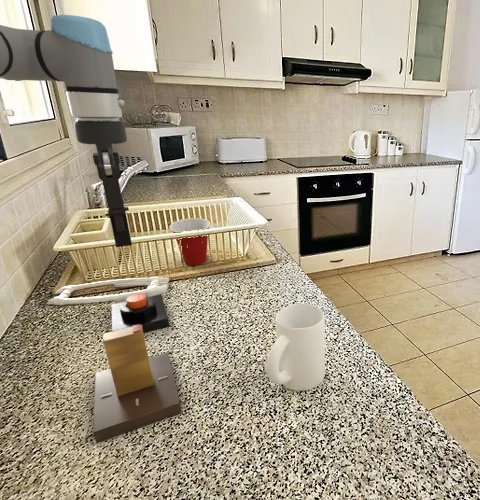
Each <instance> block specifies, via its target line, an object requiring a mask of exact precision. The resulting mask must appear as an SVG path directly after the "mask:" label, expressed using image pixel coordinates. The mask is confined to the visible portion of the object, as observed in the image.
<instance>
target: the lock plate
mask: <svg viewBox="0 0 480 500" xmlns="http://www.w3.org/2000/svg"><path fill="white" fill-rule="evenodd" d="M149 362H150V367H151V372H152V376H153V382H154V385H153V386H150V387H146V388H143V389H140V390H137V391H134V392H131V393H127V394H124V395H121V396H117V393H116V389H115V385H114V381H113V377H112V373H111V370H110V368H107V369H103V370H100V371H97V372H95V375H94V376H95V377H94V397H93V398H94V399H93V420H92V421H93V423H92V434H93V437H94V440H95V443H96V444H100V443H101V442H104V441H107V440H109V439H113V438H116V437H119V436H121V435H123V434H126V433H129V432H132V431H135V430H137V429H141V428H144V427H145V426H150V425H151V424H154V423H157V422H161V421H163V420H165V419H169V418H171V417H174V416H177V415H179V414H182V413H183V409H182V405H181V399H180V396H179V392H178V387H177V383H176V379H175V375H174V371H173V367H172V363H171V359H170V354H169V352H164V353H160V354H158V355H154V356H150V357H149Z"/></svg>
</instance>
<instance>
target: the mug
mask: <svg viewBox="0 0 480 500" xmlns="http://www.w3.org/2000/svg"><path fill="white" fill-rule="evenodd" d="M274 320H275V336H276V340H275V341H274V343H273V344H272V345H271V348H270V349H269V352H268V355H267V358H266V361H265V372H266V376H267V378H268V380H269V381H270V382H271V383H272V384H275V385H283V387H285V388H286V389H288V390H290V391H296V392H303V391H308V390H312V389H314V388H316V387H318V386H319V385H320V384H321V383H322V382H323V380H324V379H325V377H326V317H325V313H324V311H323V309H322V308H320V307H319V306H317V305H314V304H310V303H293V304H290V305H287V306H284V307H282V308H281V309H280V310H278V311H277V313H276V315H275V318H274Z"/></svg>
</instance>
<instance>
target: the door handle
mask: <svg viewBox="0 0 480 500" xmlns="http://www.w3.org/2000/svg"><path fill="white" fill-rule="evenodd" d="M169 282H170V278H169V277H159V276H150V277H134V278H133V277H131V278H119V279H110V280H103V281H102V280H101V281H95V282H89V283H83V284H82V283H81V284H77V285H76V284H75V285H73V284H71V285H66V286H62V287H60V288H59V289H57V290H56V291H55V292H54V295H58V294H59V295H58V296H54V297H53V298H50V299H49V300H48V301H47V302H46V305H54V306H63V305H80V304H81V305H82V304H92V303H102V302H110V301H114V304H117V303H121V302H124V301H127V300H126V299H127V298H128V297H130V296H132V295H135V294H144V295H146V296H147V297H150V296H155V295H160V294H162V295H163V294H164V293H165V292H166V291H167V290H168V287H169V285H168V284H169ZM110 285H113V286H114V287H113V288H123V287H137V286H147V287H146V288H145V289H141V290H140V289H139V290H136V291H129V292H124V293H123V292H122V293H117V294H108V295H101V296H100V295H99V296H91V297H90V296H89V297H75V298H73V297H72V298H69V297H70V296H71V293H73V292H74V291H77V290H83V289H89V288H94V287H102V286H110Z"/></svg>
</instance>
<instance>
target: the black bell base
mask: <svg viewBox="0 0 480 500" xmlns="http://www.w3.org/2000/svg"><path fill="white" fill-rule="evenodd" d="M146 299H147V305H145V306H143V307H141V308H136V309H129V308H128V305H127V301H123V302H117V303H112V304H111V305H110V307H111V309H110V310H111V332H113V331H117V330H121V329H125V328H130V327H133V326H134V325H138V324H140V325H142V329H143V334H147V333H150V332H155V331H159V330H162V329H166V328H170V327H171V326H170V320H169V315H168V313H167V309H166V304H165V302H164V298H163V293H162V294H158V295H155V296H150V297H147V296H146Z"/></svg>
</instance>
